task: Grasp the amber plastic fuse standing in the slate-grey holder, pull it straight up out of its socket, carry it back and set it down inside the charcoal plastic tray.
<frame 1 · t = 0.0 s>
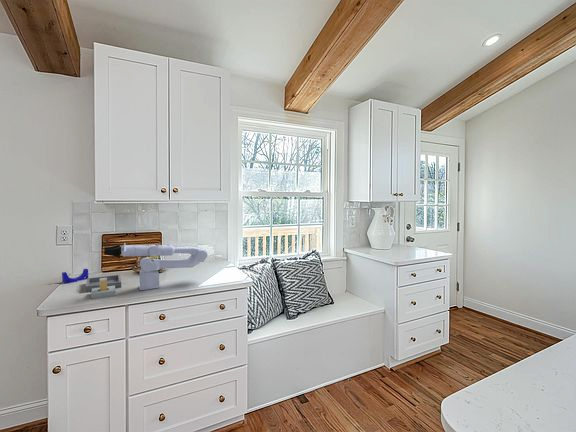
hand: (104, 251, 149), 22 cm above the countertop, tool horizontal, fingers open, 7 cm apart
fuse: (103, 286, 149), in the fuse holder
cable clip: (76, 281, 174), on the countertop
fuse holder: (103, 294, 150), on the countertop
tray: (104, 285, 165), on the countertop
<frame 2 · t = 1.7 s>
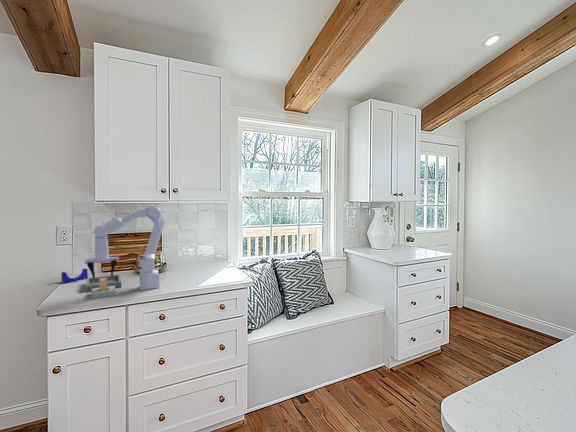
hand: (103, 276, 149), 9 cm above the countertop, tool pointing down, fingers open, 7 cm apart
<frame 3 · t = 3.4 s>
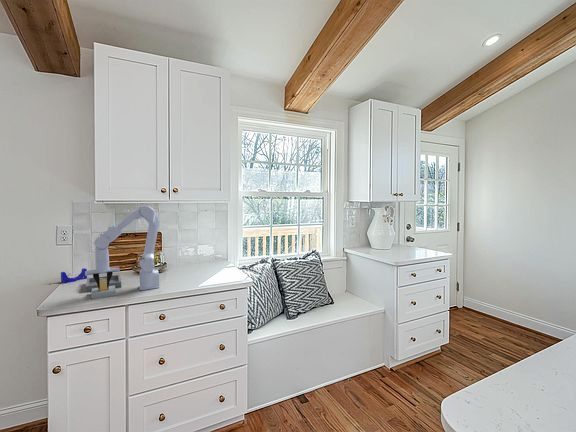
hand: (103, 287, 149), 3 cm above the countertop, tool pointing down, fingers closed on fuse, 3 cm apart
fuse: (103, 286, 149), in the fuse holder, touching gripper
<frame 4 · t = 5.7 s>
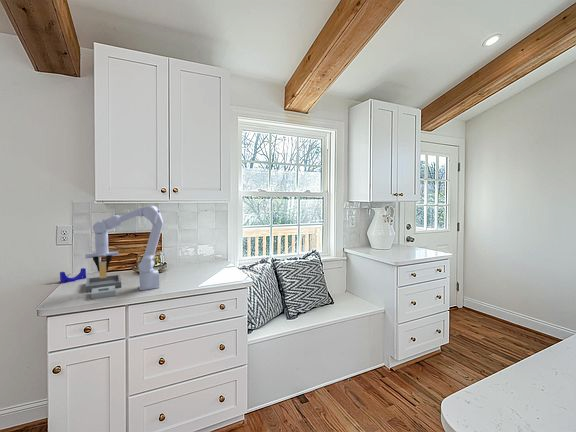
hand: (102, 270, 155), 10 cm above the countertop, tool pointing down, fingers closed on fuse, 3 cm apart
fuse: (102, 269, 155), point 11 cm above the countertop, touching gripper
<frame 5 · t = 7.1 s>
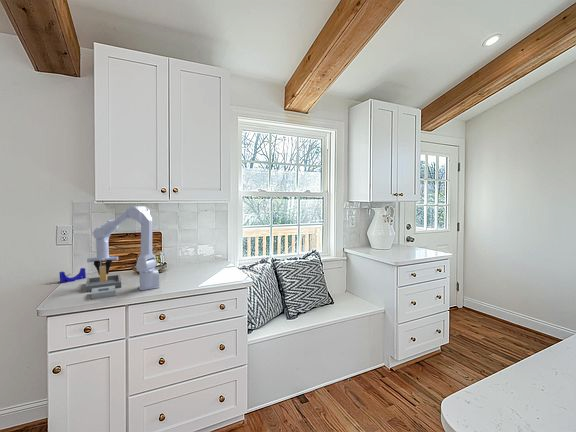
hand: (103, 274, 165), 6 cm above the countertop, tool pointing down, fingers closed on fuse, 3 cm apart
fuse: (103, 273, 164), point 7 cm above the countertop, touching gripper
when the fingers open (5 cm above the countertop, at t = 8.1 s): fuse stays where it is, resting on tray.
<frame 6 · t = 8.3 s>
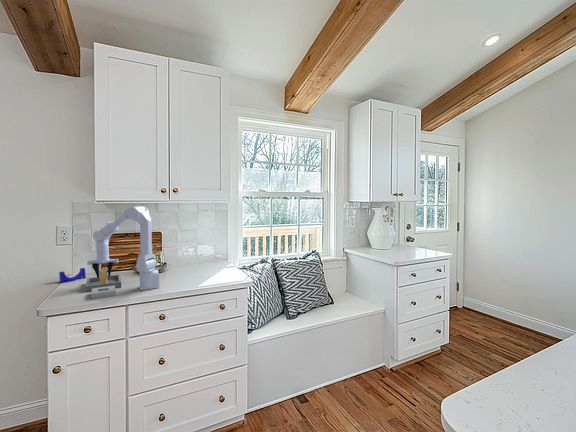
hand: (103, 276, 165), 5 cm above the countertop, tool pointing down, fingers open, 5 cm apart
fuse: (103, 277, 164), in the tray, point 5 cm above the countertop
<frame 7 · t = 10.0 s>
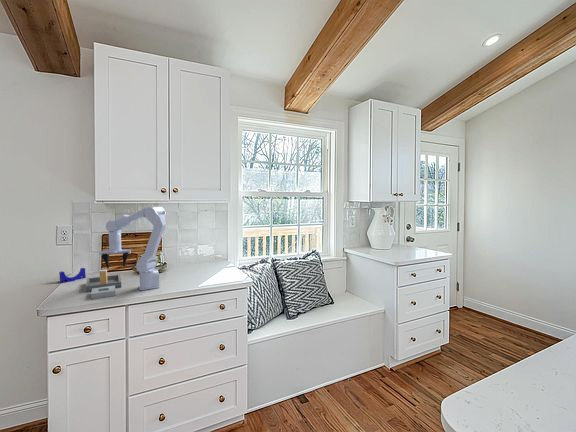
hand: (116, 267, 163), 10 cm above the countertop, tool pointing down, fingers open, 7 cm apart
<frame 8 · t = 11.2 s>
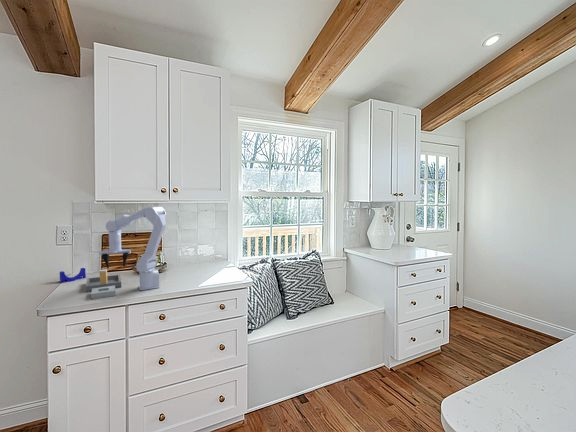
hand: (116, 267, 163), 10 cm above the countertop, tool pointing down, fingers open, 7 cm apart
at the end: fuse inside the target area on the tray (0.5 cm from its centre), point 4.6 cm above the tray's base; the gripper is holding nothing; fuse moved 17.5 cm from its start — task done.
